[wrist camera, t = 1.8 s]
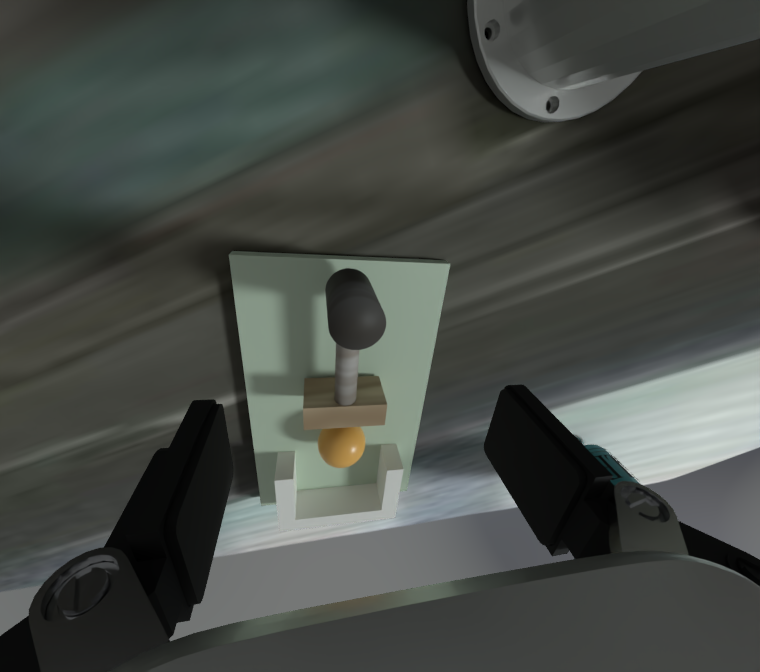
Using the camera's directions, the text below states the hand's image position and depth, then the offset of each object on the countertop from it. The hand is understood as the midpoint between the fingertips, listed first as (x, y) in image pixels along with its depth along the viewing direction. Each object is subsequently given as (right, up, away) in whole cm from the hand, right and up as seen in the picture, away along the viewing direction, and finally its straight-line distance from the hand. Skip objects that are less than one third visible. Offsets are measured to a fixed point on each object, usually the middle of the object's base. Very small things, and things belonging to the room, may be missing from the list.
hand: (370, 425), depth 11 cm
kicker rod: (-2, +3, +13) cm, 14 cm away
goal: (-4, -11, +21) cm, 24 cm away
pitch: (-3, -2, +18) cm, 18 cm away
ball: (-3, -6, +16) cm, 18 cm away
